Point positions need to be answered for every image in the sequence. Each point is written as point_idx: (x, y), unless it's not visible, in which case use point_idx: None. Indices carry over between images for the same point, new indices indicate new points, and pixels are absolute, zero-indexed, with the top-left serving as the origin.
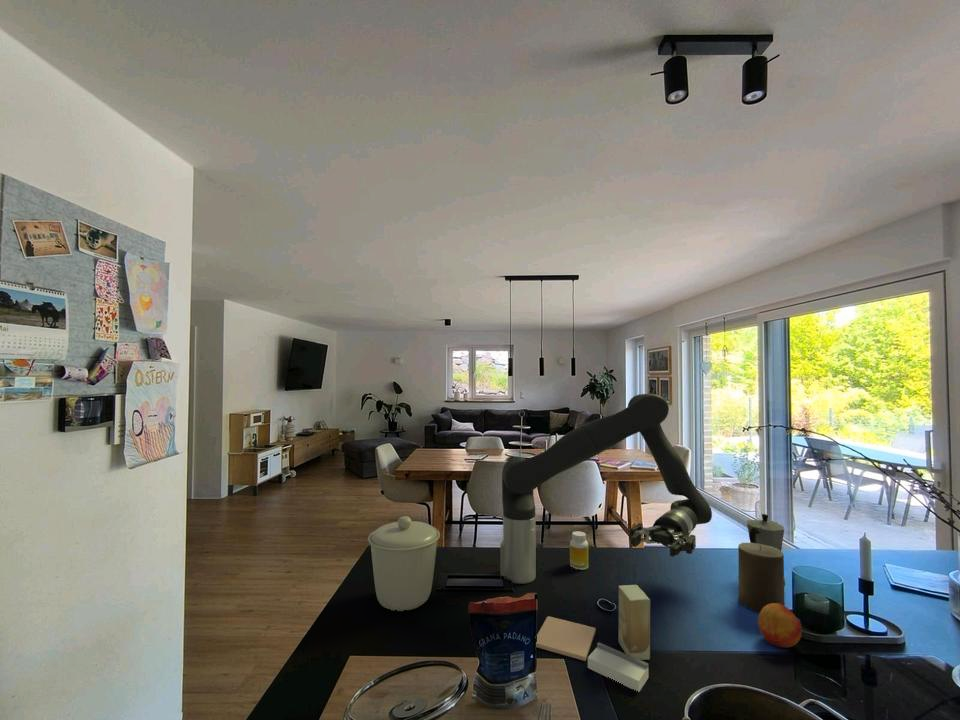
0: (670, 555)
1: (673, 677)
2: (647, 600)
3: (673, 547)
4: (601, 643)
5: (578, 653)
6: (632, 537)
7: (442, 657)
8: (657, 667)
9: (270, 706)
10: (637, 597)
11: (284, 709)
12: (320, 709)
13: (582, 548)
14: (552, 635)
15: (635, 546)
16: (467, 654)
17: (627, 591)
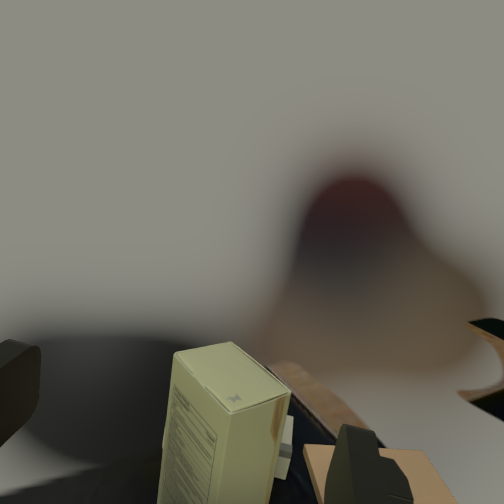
0: (33, 404)
1: (99, 467)
2: (182, 351)
3: (4, 348)
4: (284, 451)
5: (322, 449)
6: (372, 431)
7: (488, 391)
8: (136, 489)
9: (499, 319)
10: (214, 351)
11: (488, 318)
12: (470, 322)
13: None
14: (413, 488)
15: (325, 494)
16: (474, 405)
17: (251, 370)
